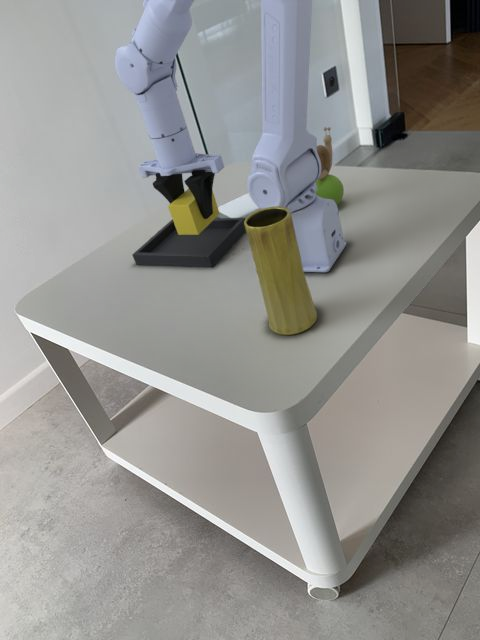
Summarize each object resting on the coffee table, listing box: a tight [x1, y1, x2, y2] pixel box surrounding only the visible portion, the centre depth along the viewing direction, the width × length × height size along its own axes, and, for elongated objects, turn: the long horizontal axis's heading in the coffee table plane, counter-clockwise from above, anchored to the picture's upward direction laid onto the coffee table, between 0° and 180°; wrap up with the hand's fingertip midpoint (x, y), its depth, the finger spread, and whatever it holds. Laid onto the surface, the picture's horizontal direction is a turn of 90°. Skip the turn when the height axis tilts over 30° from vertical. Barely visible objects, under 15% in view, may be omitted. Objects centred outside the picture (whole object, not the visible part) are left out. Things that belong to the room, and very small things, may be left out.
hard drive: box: [216, 192, 260, 218], centre depth 100 cm, size 2×8×12 cm
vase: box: [244, 206, 318, 336], centre depth 65 cm, size 6×6×14 cm
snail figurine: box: [316, 126, 345, 205], centre depth 90 cm, size 5×6×12 cm
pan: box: [131, 217, 246, 268], centre depth 93 cm, size 16×13×2 cm
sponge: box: [167, 188, 220, 235], centre depth 88 cm, size 4×7×5 cm, turn 153°
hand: (196, 216), depth 89 cm, fingers closed on sponge, 4 cm apart
